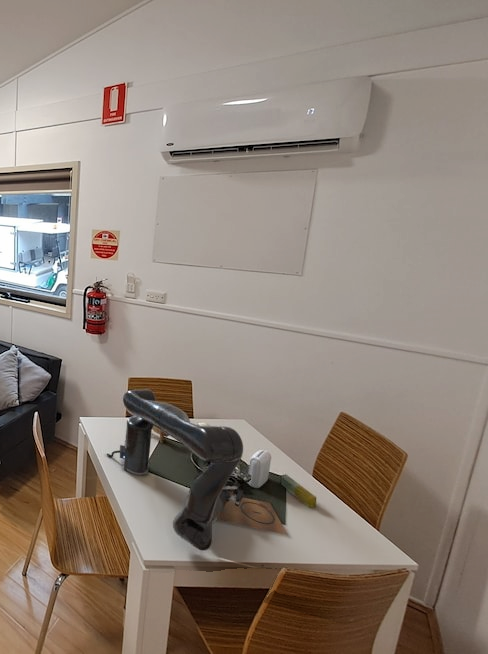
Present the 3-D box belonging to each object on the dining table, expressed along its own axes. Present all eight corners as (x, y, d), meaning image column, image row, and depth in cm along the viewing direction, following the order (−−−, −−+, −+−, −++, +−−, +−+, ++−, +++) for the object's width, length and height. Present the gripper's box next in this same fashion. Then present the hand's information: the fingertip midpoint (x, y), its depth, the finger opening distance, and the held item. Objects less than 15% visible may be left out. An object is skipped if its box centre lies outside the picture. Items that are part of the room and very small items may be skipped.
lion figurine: (174, 442, 166) (176, 423, 165) (170, 447, 163) (172, 428, 161) (142, 428, 177) (143, 410, 175) (137, 432, 173) (138, 415, 172)
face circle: (246, 519, 124) (246, 519, 124) (236, 499, 133) (236, 499, 133) (279, 527, 121) (279, 526, 121) (267, 505, 130) (267, 505, 130)
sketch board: (216, 520, 124) (216, 519, 124) (204, 487, 139) (204, 486, 139) (287, 536, 118) (288, 534, 118) (267, 499, 133) (267, 498, 133)
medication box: (279, 484, 141) (279, 474, 140) (286, 483, 141) (286, 473, 140) (309, 508, 129) (310, 498, 128) (316, 507, 129) (317, 497, 129)
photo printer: (256, 473, 147) (261, 445, 144) (269, 479, 143) (274, 450, 141) (244, 483, 141) (249, 454, 139) (257, 490, 138) (262, 460, 135)
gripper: (236, 504, 117) (249, 478, 128) (187, 480, 127) (203, 459, 138) (233, 524, 118) (246, 498, 129) (185, 499, 128) (201, 476, 140)
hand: (224, 477), depth 134 cm, fingers open, 7 cm apart
